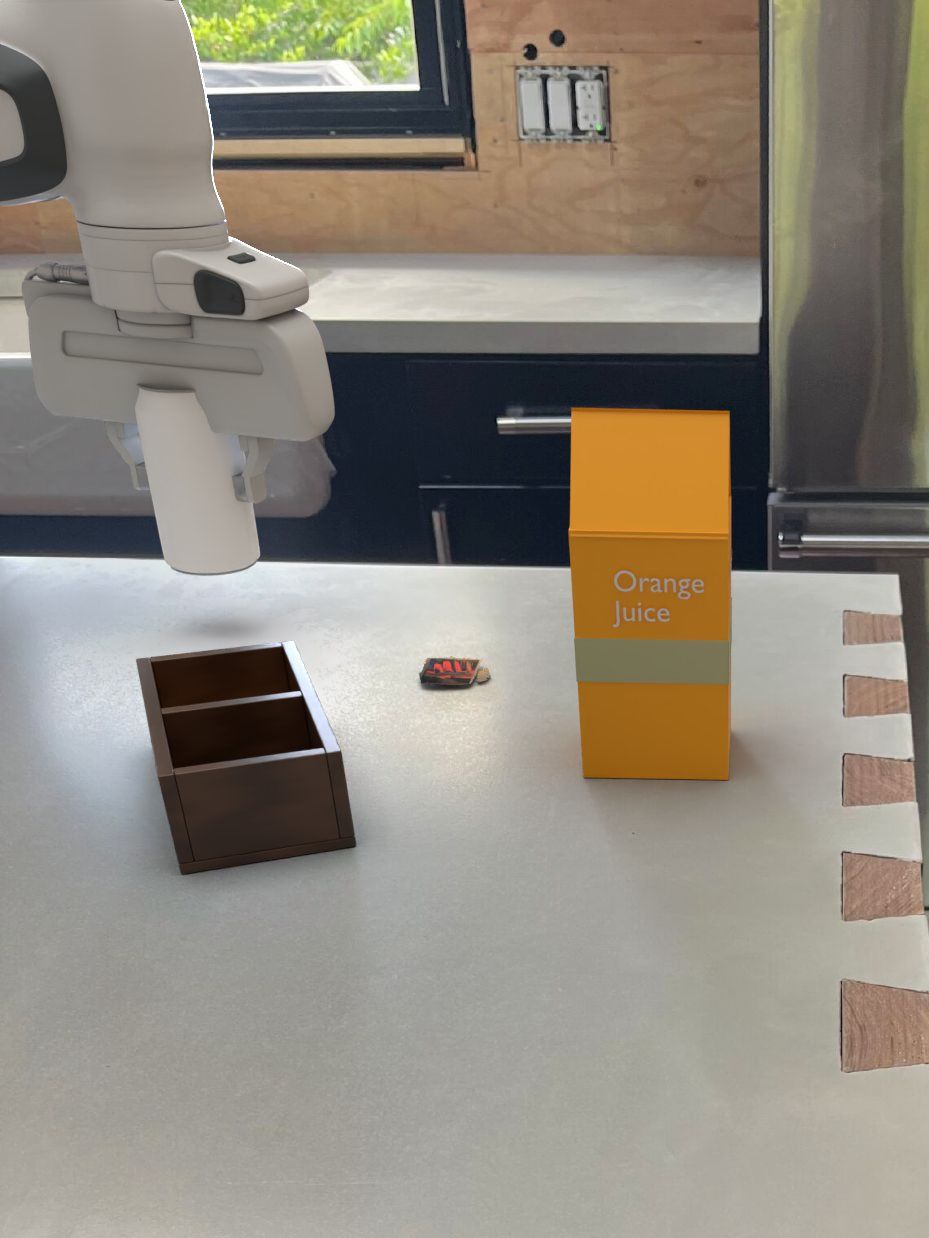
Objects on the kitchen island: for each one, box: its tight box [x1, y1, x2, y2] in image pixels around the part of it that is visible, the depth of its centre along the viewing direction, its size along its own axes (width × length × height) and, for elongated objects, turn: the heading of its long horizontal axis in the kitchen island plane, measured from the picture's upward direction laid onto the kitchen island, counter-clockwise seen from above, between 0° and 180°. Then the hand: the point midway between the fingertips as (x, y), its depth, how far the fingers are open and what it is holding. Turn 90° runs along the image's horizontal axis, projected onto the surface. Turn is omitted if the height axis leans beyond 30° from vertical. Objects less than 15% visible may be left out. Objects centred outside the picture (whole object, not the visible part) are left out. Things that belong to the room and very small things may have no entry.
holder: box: [135, 640, 357, 875], centre depth 85 cm, size 9×17×6 cm, turn 23°
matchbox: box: [418, 655, 491, 686], centre depth 101 cm, size 5×5×1 cm
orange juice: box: [567, 407, 733, 781], centre depth 86 cm, size 8×9×20 cm
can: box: [135, 384, 261, 577], centre depth 102 cm, size 6×6×12 cm
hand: (201, 495), depth 103 cm, fingers closed on can, 6 cm apart
